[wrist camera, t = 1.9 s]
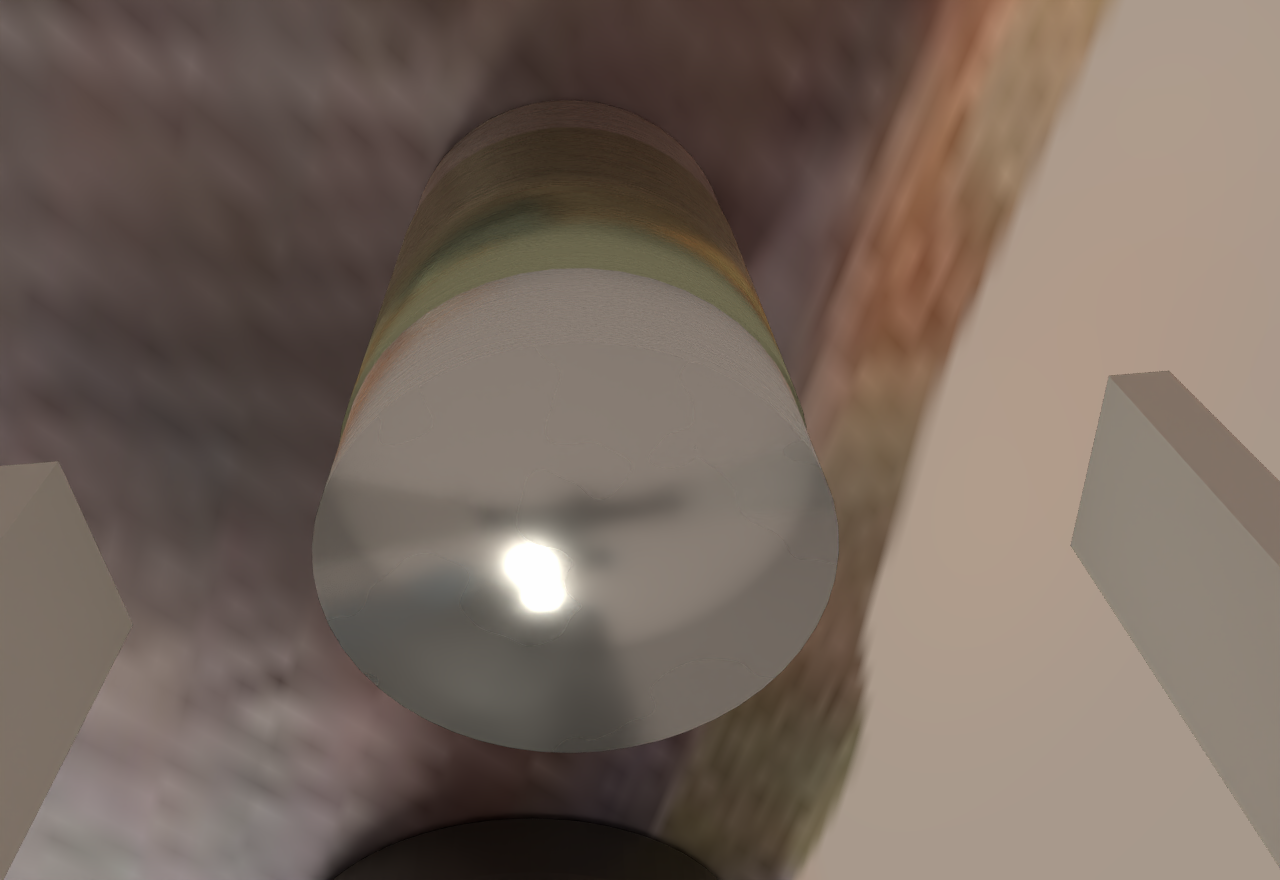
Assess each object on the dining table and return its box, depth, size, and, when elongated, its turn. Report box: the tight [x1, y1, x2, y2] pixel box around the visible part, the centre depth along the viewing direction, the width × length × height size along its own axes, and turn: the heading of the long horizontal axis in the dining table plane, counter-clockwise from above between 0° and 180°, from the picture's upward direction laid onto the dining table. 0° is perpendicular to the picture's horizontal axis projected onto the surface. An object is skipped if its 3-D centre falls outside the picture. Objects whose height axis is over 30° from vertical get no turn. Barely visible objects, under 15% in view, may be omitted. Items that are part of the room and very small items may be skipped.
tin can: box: [312, 100, 839, 753], centre depth 17 cm, size 6×6×10 cm
